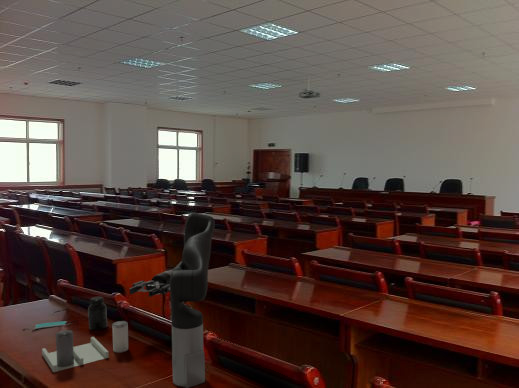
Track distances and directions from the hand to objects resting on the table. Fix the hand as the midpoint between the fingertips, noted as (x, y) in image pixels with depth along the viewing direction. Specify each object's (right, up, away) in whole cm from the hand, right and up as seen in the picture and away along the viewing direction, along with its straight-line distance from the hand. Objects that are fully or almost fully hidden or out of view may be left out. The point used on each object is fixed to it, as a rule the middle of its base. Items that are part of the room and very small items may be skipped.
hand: (139, 292), depth 165 cm
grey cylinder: (-19, -18, -20) cm, 33 cm away
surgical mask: (-40, -17, +17) cm, 47 cm away
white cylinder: (-4, -18, -9) cm, 21 cm away
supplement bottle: (-20, -17, +14) cm, 30 cm away
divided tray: (-18, -19, -14) cm, 30 cm away
